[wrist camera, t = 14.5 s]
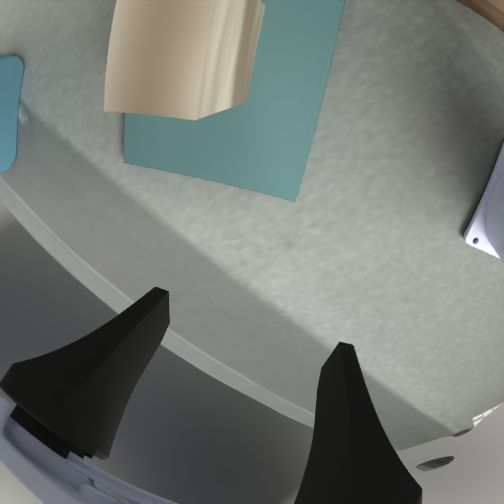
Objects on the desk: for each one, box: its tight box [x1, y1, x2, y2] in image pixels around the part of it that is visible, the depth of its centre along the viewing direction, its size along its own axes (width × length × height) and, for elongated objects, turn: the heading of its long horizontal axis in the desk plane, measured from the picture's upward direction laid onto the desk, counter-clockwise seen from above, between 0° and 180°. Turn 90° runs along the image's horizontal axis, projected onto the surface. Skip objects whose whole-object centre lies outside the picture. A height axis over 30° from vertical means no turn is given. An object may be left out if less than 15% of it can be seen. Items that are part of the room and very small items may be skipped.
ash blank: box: [103, 0, 265, 120], centre depth 10 cm, size 4×6×7 cm, turn 170°
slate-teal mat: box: [124, 0, 345, 202], centre depth 13 cm, size 12×16×1 cm
